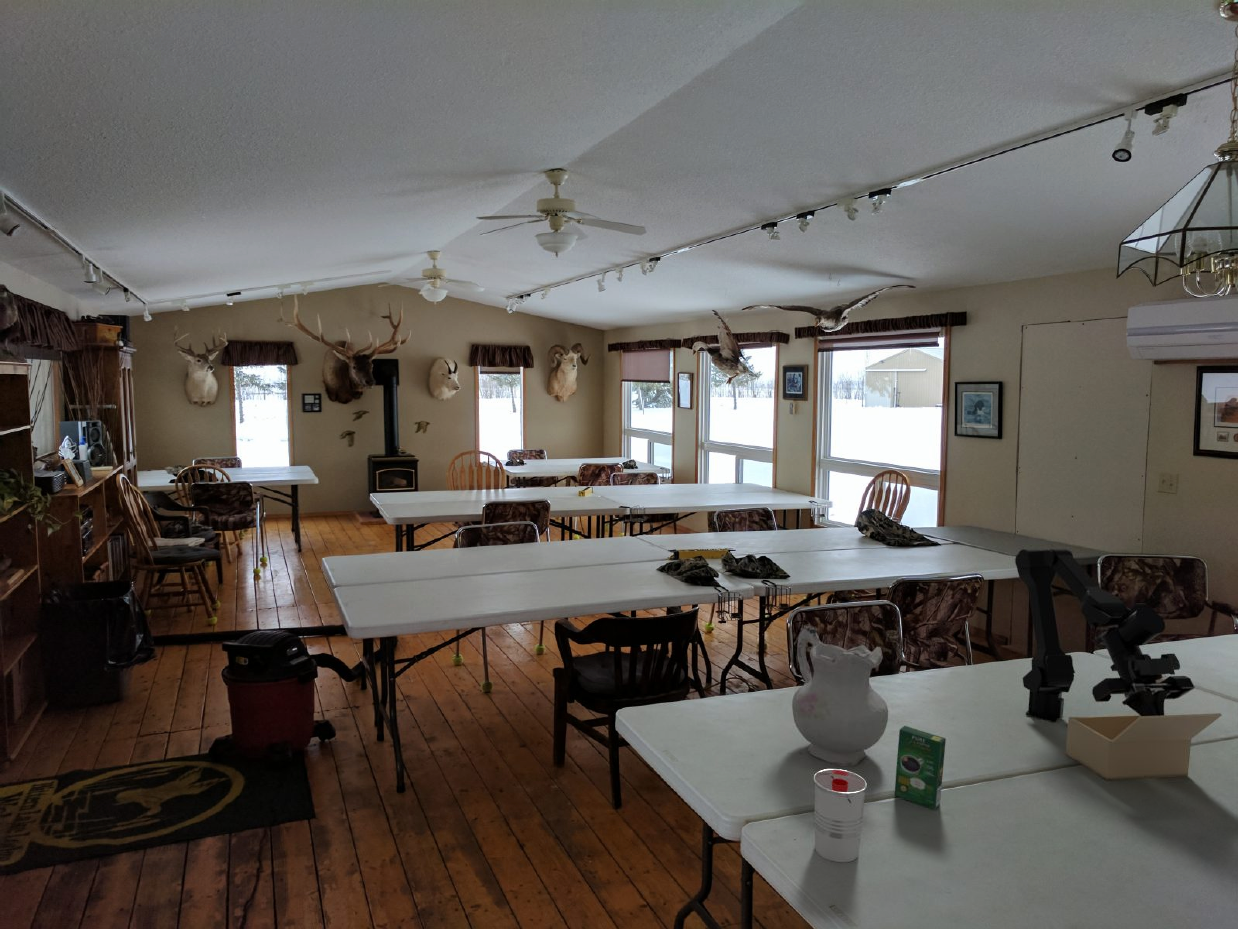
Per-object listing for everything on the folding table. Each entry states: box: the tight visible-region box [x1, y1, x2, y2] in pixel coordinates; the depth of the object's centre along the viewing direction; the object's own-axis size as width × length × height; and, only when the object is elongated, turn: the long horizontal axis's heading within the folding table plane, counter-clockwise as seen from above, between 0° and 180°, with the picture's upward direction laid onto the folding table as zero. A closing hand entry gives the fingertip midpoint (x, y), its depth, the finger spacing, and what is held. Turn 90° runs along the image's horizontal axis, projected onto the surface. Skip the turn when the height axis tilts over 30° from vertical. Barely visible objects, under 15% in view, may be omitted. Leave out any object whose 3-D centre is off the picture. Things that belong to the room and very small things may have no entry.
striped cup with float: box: [812, 768, 868, 863], centre depth 138 cm, size 10×8×12 cm
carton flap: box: [1112, 712, 1222, 743], centre depth 163 cm, size 10×17×1 cm
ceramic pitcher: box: [791, 625, 889, 768], centre depth 176 cm, size 22×20×25 cm
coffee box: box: [893, 725, 947, 811], centre depth 156 cm, size 8×3×13 cm, turn 49°
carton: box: [1065, 713, 1192, 781], centre depth 173 cm, size 12×18×8 cm, turn 98°
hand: (1162, 730), depth 164 cm, fingers closed, pressing on carton flap
